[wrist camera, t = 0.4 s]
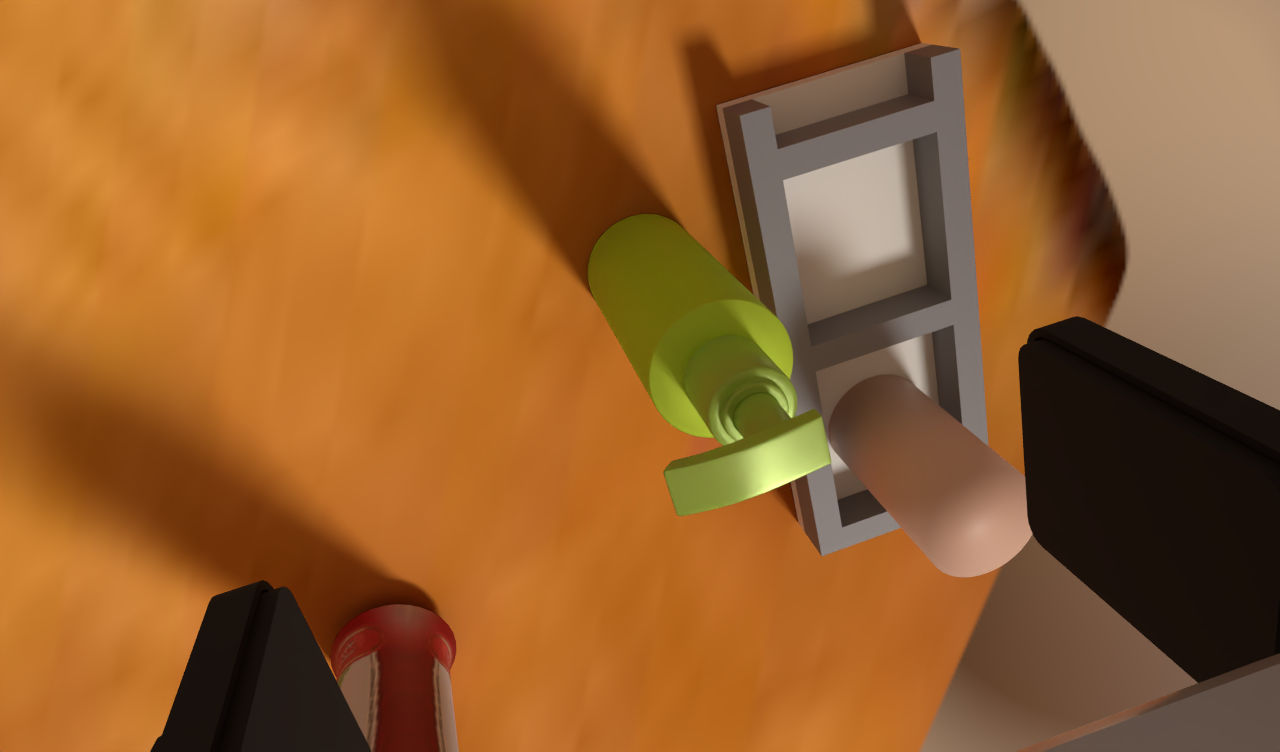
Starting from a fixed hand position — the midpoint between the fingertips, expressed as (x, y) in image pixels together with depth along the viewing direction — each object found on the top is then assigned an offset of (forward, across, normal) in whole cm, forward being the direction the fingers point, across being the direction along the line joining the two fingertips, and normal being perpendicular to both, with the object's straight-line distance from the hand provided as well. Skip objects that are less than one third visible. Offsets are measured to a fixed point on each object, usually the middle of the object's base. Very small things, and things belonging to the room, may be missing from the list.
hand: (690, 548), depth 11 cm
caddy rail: (+35, -17, +14) cm, 41 cm away
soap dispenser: (+35, -5, +8) cm, 36 cm away
